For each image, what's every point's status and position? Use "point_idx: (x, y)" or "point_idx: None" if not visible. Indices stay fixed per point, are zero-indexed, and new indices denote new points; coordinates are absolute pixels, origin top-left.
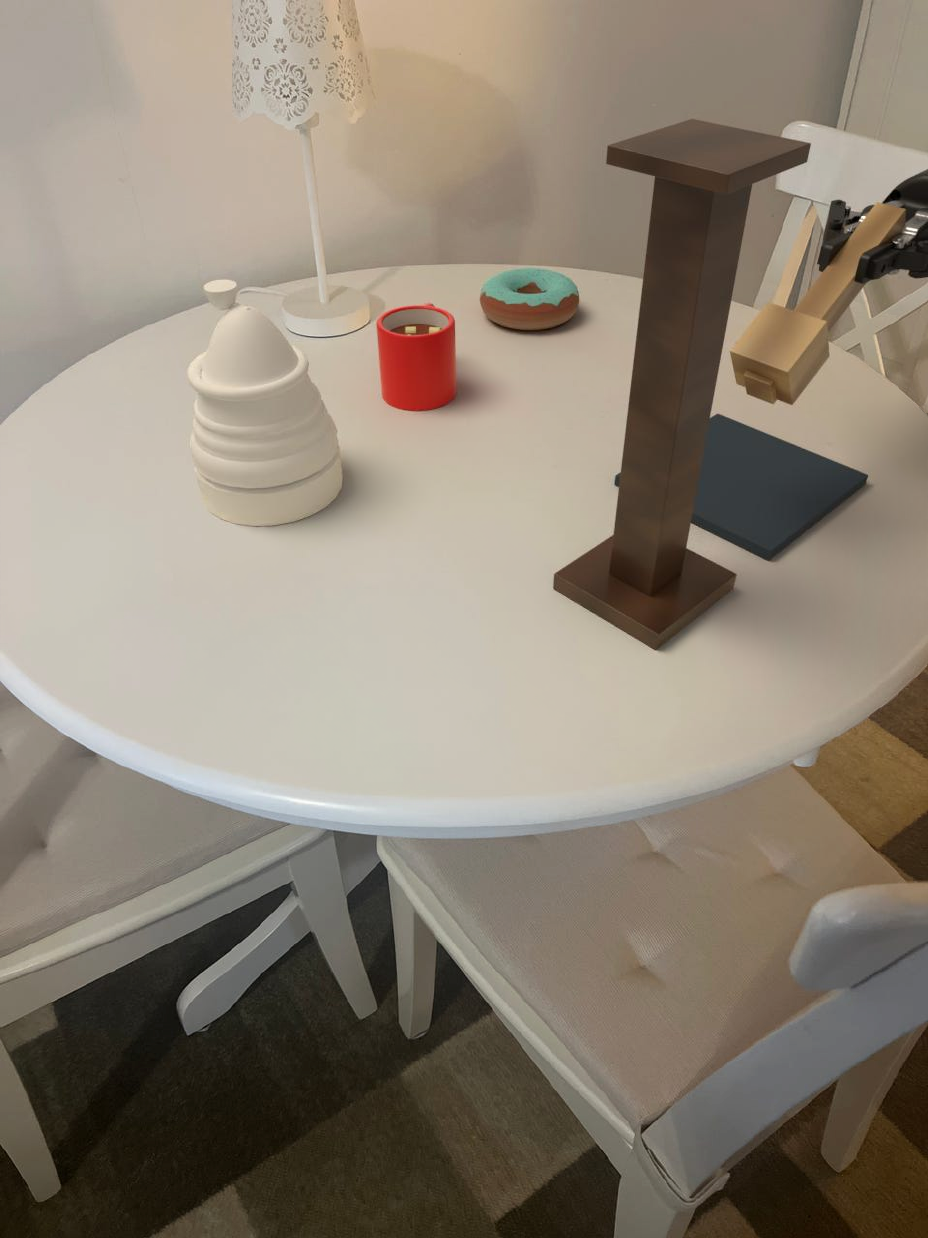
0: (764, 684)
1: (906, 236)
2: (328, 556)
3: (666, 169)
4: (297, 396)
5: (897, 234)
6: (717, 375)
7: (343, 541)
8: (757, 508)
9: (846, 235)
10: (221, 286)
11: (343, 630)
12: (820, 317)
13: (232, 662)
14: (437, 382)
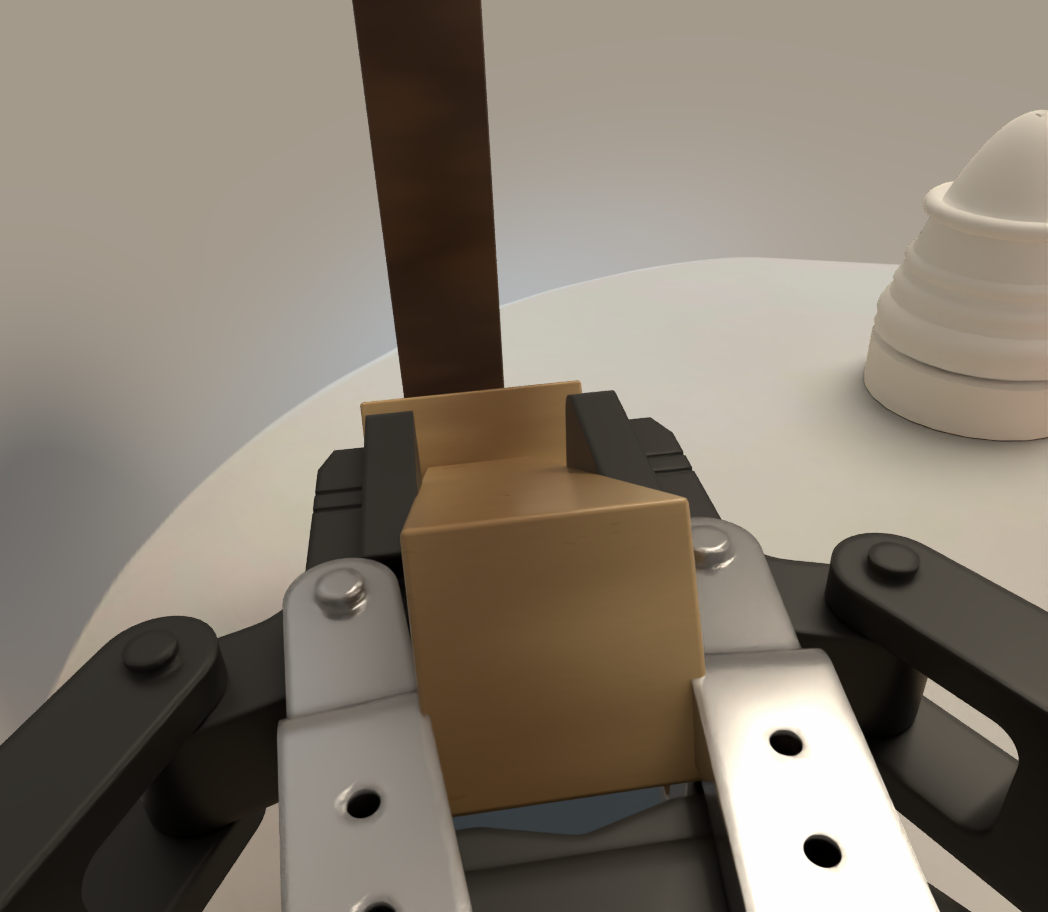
0: (215, 570)
1: (340, 676)
2: (769, 387)
3: None
4: (950, 246)
5: (412, 657)
6: (380, 214)
7: (794, 401)
8: (477, 824)
9: (637, 484)
10: None
11: (631, 366)
12: (432, 469)
13: (643, 318)
14: None
